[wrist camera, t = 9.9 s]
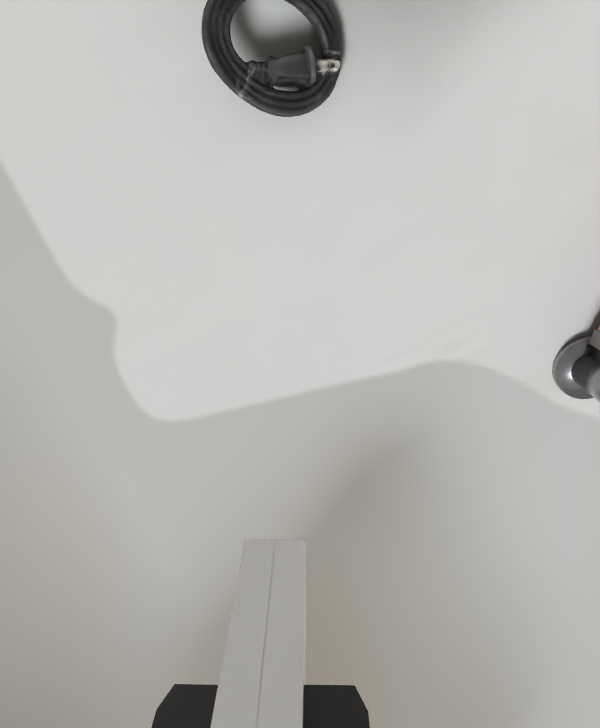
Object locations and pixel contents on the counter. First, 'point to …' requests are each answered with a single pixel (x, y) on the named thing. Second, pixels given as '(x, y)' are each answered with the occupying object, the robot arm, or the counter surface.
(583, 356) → the hinge post
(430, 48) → the counter surface
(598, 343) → the gate
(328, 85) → the corded kitchen appliance
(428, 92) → the counter surface
